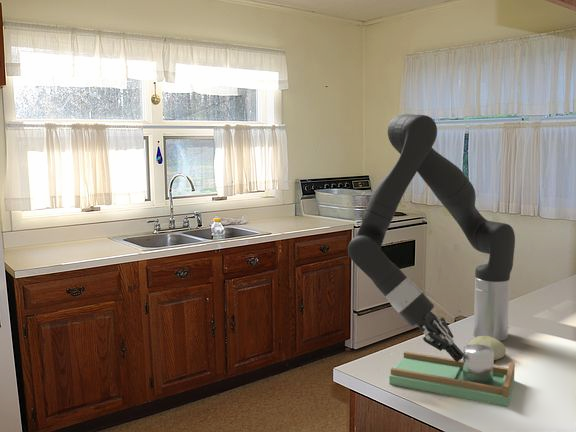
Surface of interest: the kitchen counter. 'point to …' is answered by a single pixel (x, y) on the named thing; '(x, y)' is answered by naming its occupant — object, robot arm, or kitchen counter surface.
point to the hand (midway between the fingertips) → (460, 358)
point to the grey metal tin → (478, 364)
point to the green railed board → (451, 378)
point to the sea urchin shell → (491, 345)
